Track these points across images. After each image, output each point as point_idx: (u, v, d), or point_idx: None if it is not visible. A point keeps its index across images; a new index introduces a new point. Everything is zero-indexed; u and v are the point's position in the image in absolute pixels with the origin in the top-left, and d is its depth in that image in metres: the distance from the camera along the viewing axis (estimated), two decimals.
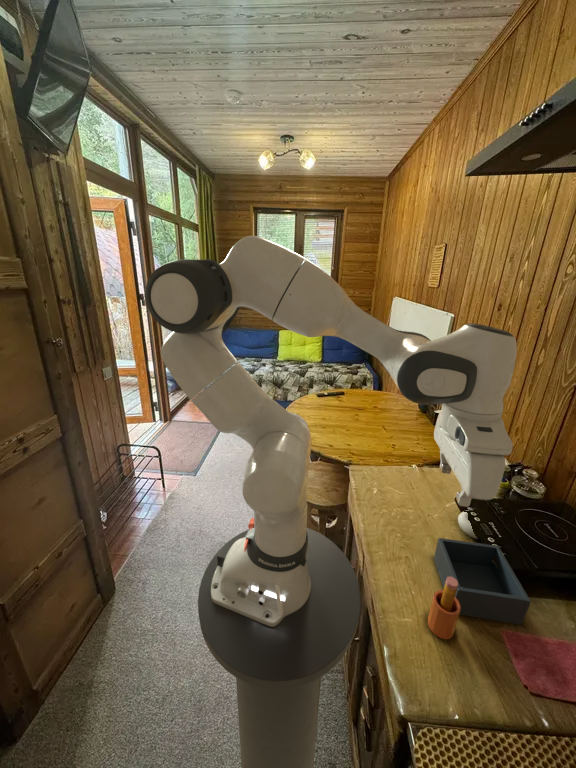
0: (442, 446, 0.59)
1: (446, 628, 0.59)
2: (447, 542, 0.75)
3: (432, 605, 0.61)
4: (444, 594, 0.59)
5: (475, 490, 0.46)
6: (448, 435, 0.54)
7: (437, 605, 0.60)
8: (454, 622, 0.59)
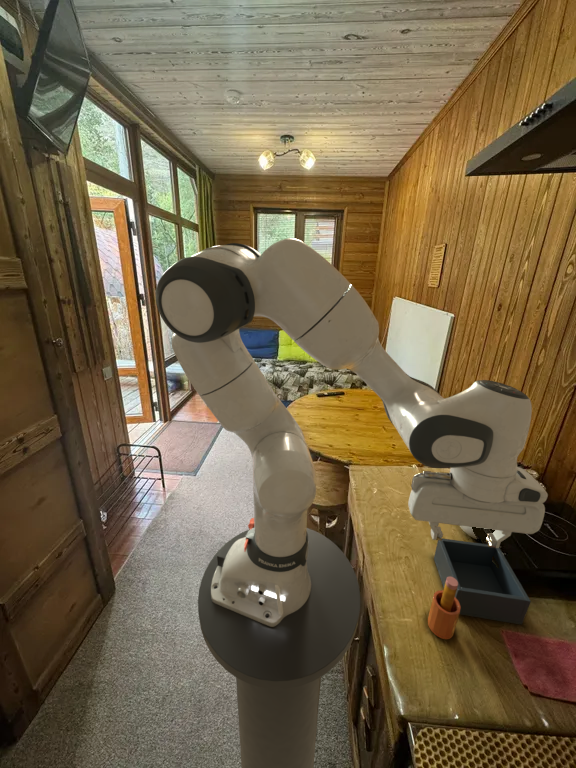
0: (450, 518, 0.52)
1: (446, 628, 0.59)
2: (447, 542, 0.75)
3: (432, 605, 0.61)
4: (444, 594, 0.59)
5: None
6: (489, 503, 0.49)
7: (437, 605, 0.60)
8: (454, 622, 0.59)
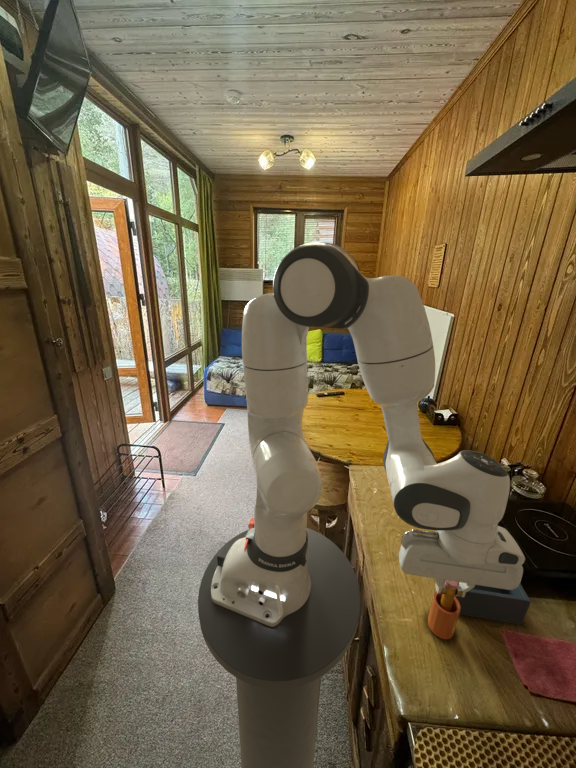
0: (437, 574, 0.56)
1: (446, 628, 0.59)
2: None
3: (432, 605, 0.61)
4: (444, 594, 0.59)
5: None
6: (472, 564, 0.53)
7: (437, 605, 0.60)
8: (454, 622, 0.59)
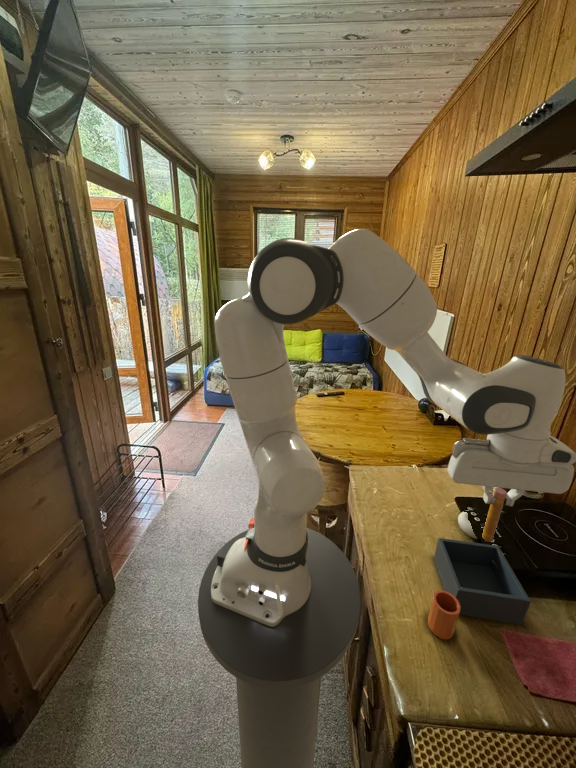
0: (488, 480, 0.58)
1: (446, 628, 0.59)
2: (447, 542, 0.75)
3: (432, 605, 0.61)
4: (492, 505, 0.62)
5: None
6: (525, 465, 0.55)
7: (437, 605, 0.60)
8: (454, 622, 0.59)
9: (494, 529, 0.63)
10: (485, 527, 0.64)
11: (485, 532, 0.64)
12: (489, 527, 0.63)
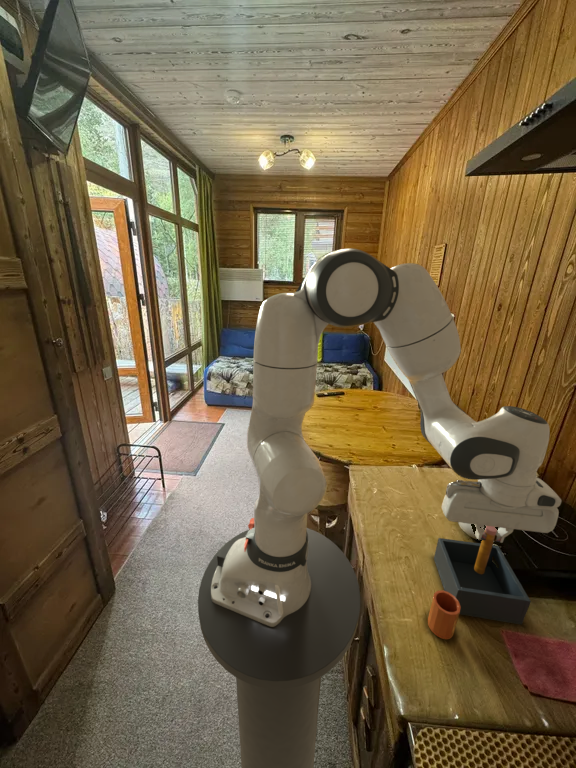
0: (479, 519, 0.63)
1: (446, 628, 0.59)
2: (447, 542, 0.75)
3: (432, 605, 0.61)
4: (483, 540, 0.66)
5: None
6: (513, 507, 0.59)
7: (437, 605, 0.60)
8: (454, 622, 0.59)
9: (485, 563, 0.67)
10: (477, 560, 0.68)
11: (477, 565, 0.68)
12: (481, 561, 0.67)
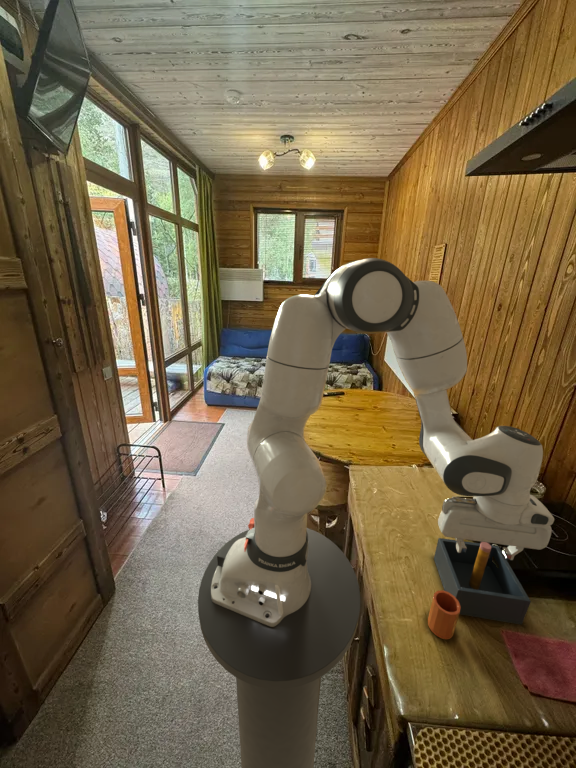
0: (474, 536, 0.64)
1: (446, 628, 0.59)
2: (447, 542, 0.75)
3: (432, 605, 0.61)
4: (478, 557, 0.67)
5: None
6: (507, 525, 0.61)
7: (437, 605, 0.60)
8: (454, 622, 0.59)
9: (480, 579, 0.68)
10: (472, 576, 0.69)
11: (472, 580, 0.69)
12: (476, 577, 0.69)
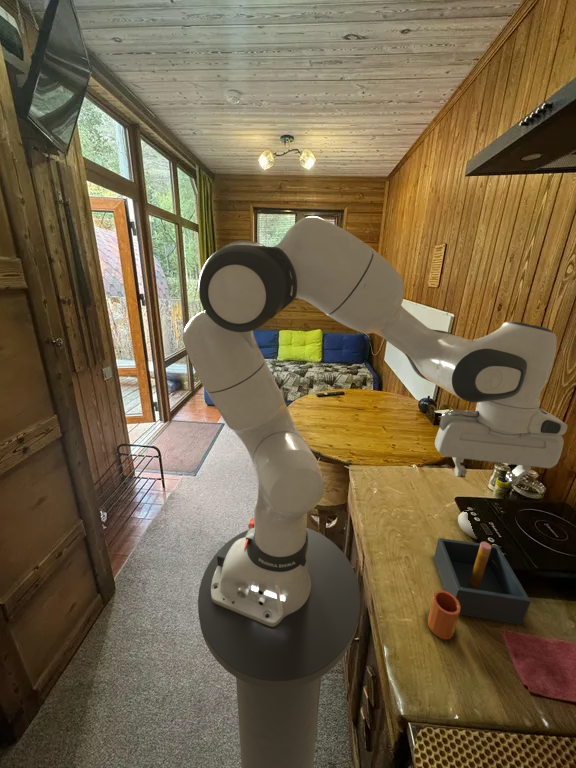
0: (475, 453, 0.57)
1: (446, 628, 0.59)
2: (447, 542, 0.75)
3: (432, 605, 0.61)
4: (478, 557, 0.67)
5: None
6: (513, 436, 0.53)
7: (437, 605, 0.60)
8: (454, 622, 0.59)
9: (480, 579, 0.68)
10: (472, 576, 0.69)
11: (472, 580, 0.69)
12: (476, 577, 0.69)
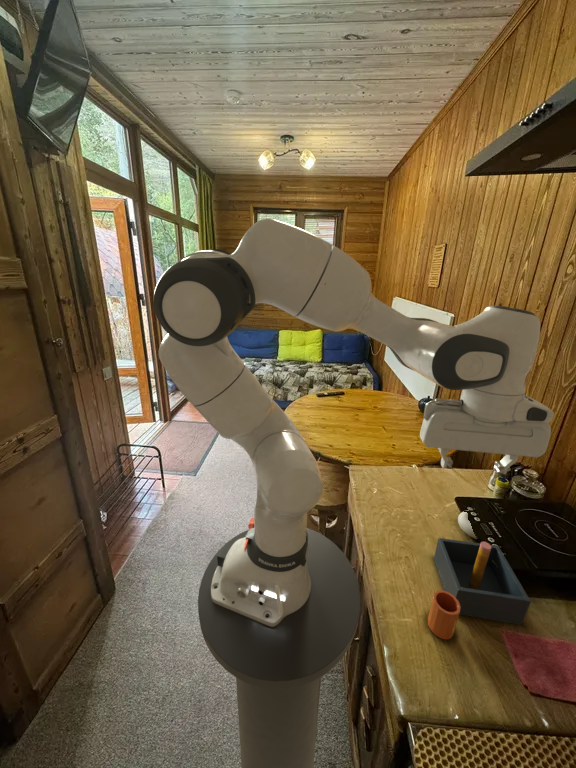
0: (461, 443, 0.55)
1: (446, 628, 0.59)
2: (447, 542, 0.75)
3: (432, 605, 0.61)
4: (478, 557, 0.67)
5: None
6: (498, 425, 0.52)
7: (437, 605, 0.60)
8: (454, 622, 0.59)
9: (480, 579, 0.68)
10: (472, 576, 0.69)
11: (472, 580, 0.69)
12: (476, 577, 0.69)
